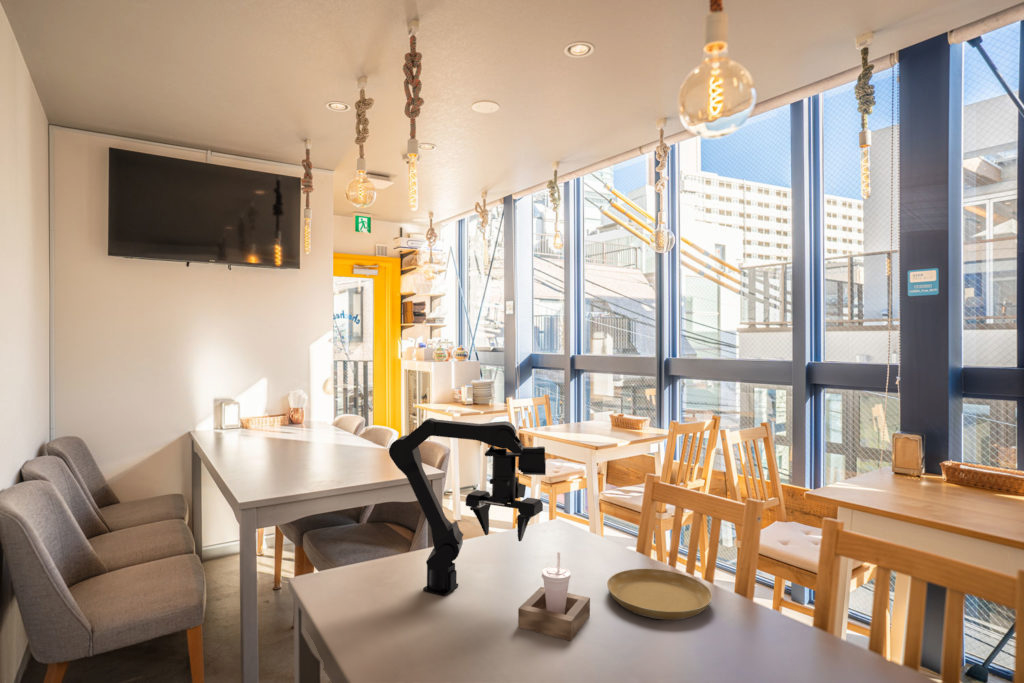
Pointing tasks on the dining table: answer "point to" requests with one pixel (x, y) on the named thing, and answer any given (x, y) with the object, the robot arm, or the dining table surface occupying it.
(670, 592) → the plant saucer
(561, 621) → the caddy
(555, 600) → the smoothie
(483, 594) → the dining table surface
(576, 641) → the dining table surface
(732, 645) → the dining table surface
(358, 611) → the dining table surface
